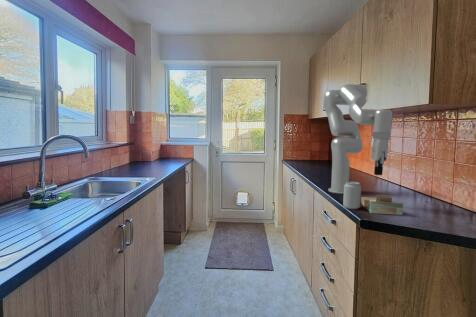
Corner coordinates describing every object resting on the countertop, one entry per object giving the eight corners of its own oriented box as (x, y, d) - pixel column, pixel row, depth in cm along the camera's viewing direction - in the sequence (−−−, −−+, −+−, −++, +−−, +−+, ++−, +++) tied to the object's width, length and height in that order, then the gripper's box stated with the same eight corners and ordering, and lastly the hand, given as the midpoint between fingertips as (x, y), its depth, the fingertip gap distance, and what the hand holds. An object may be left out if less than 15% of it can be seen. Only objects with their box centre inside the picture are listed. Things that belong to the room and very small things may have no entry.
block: (376, 203, 139) (376, 194, 139) (387, 204, 138) (388, 195, 138) (379, 206, 134) (379, 197, 134) (391, 206, 133) (391, 197, 133)
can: (349, 210, 138) (350, 184, 137) (339, 206, 146) (340, 181, 144) (363, 209, 140) (365, 183, 139) (353, 205, 148) (354, 180, 146)
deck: (361, 203, 152) (361, 193, 151) (389, 204, 149) (389, 194, 149) (370, 213, 134) (371, 201, 133) (402, 214, 132) (403, 203, 131)
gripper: (369, 135, 151) (366, 171, 154) (377, 137, 137) (373, 177, 139) (385, 135, 150) (381, 172, 153) (395, 137, 135) (391, 178, 138)
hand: (378, 174), depth 146 cm, fingers closed
